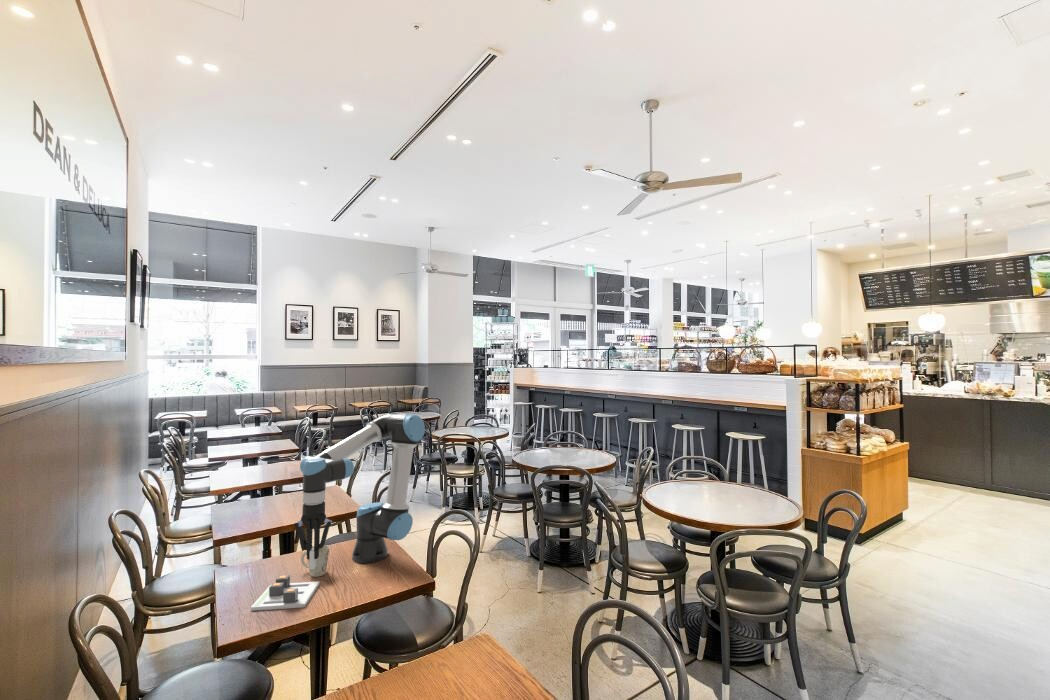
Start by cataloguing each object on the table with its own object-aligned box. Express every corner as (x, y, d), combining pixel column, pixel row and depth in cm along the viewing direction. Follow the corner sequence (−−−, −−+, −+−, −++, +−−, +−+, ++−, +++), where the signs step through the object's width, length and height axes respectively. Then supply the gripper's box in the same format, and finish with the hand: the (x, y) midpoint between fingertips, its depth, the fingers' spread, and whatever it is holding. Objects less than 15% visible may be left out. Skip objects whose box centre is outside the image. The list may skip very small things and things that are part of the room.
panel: (319, 584, 182) (319, 572, 183) (304, 607, 166) (304, 593, 166) (270, 587, 180) (270, 574, 180) (250, 610, 163) (251, 596, 163)
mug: (320, 578, 187) (321, 553, 188) (293, 576, 190) (293, 551, 190) (333, 569, 195) (333, 545, 196) (306, 567, 198) (307, 543, 198)
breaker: (298, 597, 169) (298, 587, 169) (295, 602, 166) (295, 591, 166) (286, 598, 169) (286, 588, 169) (283, 602, 166) (283, 592, 166)
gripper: (335, 498, 174) (334, 562, 173) (298, 499, 172) (297, 564, 171) (329, 504, 166) (328, 571, 166) (291, 505, 165) (289, 573, 164)
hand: (312, 567), depth 168 cm, fingers closed
